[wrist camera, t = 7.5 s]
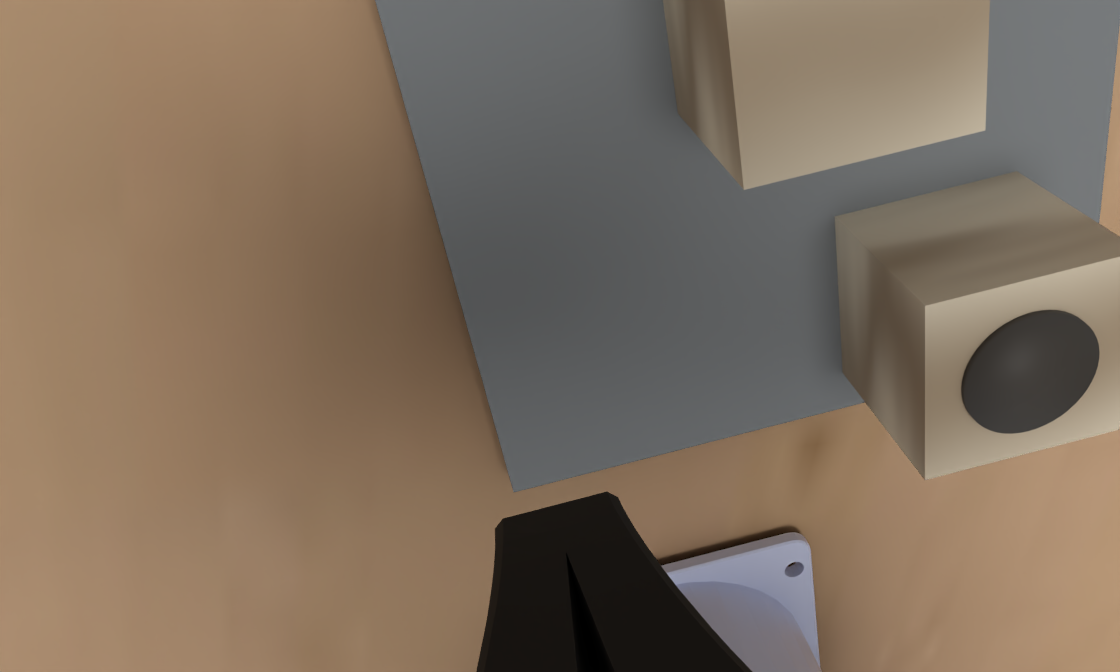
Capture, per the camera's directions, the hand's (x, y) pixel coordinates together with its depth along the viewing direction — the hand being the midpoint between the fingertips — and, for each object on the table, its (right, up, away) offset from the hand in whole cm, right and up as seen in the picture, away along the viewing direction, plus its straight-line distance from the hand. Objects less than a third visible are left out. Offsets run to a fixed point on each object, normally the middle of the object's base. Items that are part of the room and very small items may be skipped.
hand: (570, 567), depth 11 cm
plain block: (+4, +9, +7) cm, 12 cm away
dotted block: (+8, +4, +10) cm, 14 cm away
